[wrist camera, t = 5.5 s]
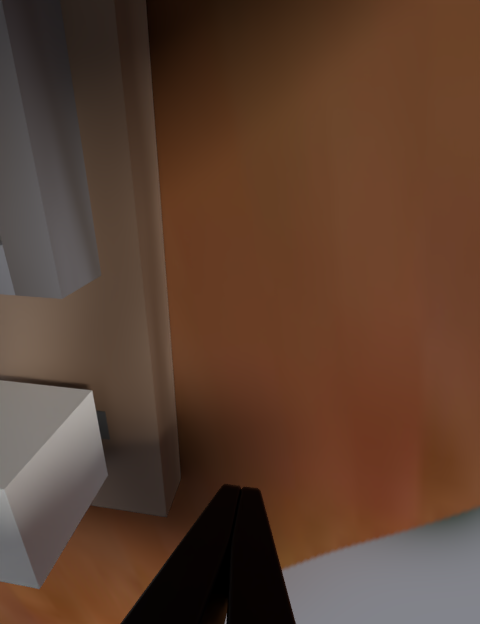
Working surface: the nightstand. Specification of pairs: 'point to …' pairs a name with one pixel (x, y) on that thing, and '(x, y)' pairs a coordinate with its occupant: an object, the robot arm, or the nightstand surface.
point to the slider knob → (44, 474)
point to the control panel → (88, 232)
